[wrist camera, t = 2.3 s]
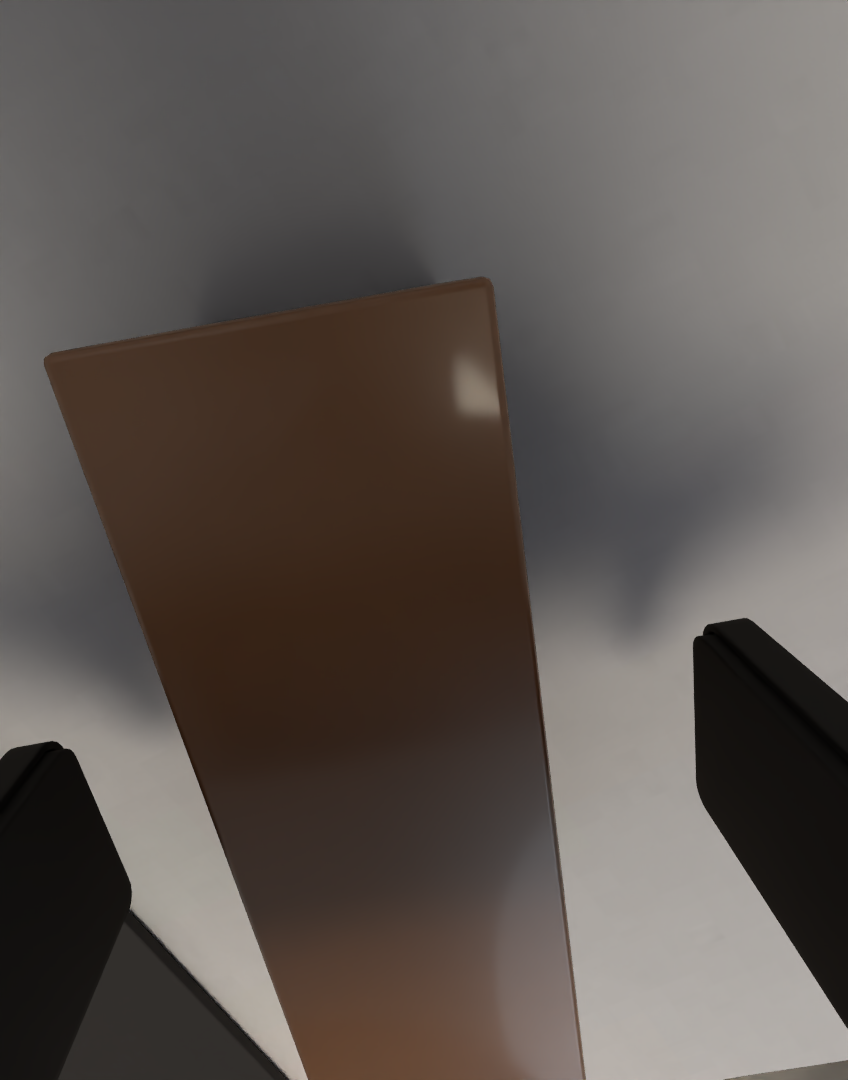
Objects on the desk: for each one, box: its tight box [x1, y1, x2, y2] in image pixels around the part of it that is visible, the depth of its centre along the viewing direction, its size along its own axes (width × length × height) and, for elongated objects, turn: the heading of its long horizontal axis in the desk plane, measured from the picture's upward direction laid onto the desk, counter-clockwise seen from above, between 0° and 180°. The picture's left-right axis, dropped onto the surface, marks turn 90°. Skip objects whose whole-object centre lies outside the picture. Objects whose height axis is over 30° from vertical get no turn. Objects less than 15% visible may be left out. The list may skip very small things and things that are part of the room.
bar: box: [44, 277, 586, 1080], centre depth 10 cm, size 12×4×5 cm, turn 9°
